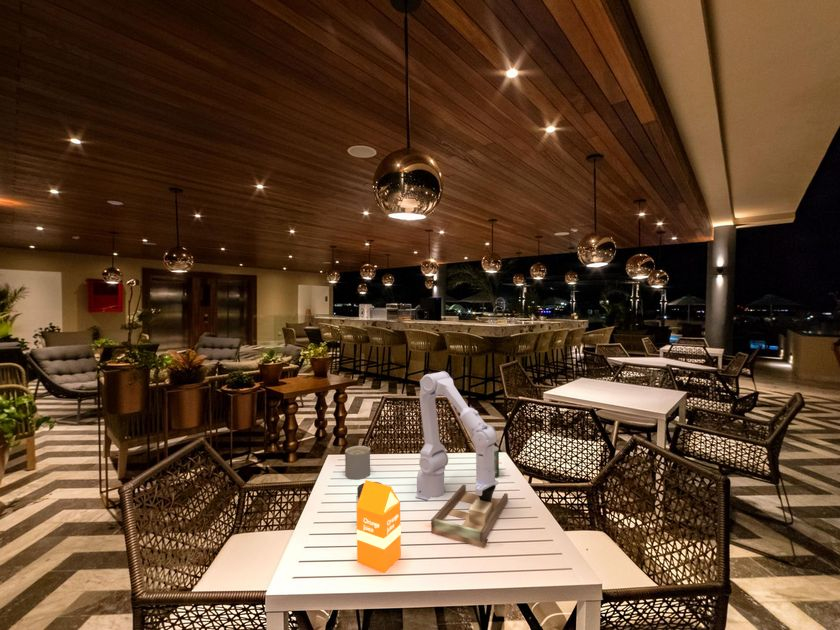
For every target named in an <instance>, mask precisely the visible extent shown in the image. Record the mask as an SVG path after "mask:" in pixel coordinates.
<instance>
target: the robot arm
mask: <svg viewBox="0 0 840 630" xmlns="http://www.w3.org/2000/svg"><path fill="white" fill-rule="evenodd" d="M419 385H420V391H419V395H418V396H419V403H420V405H419V406H420V413H421V415H420V416H421V422H422V430H423V431H422V432H423V433H422V434H423V441H424V444H423V447H422V448H421V450H420V452H419V454H420V455H419V457H420V458H419V461H418V462H419V468H420V469H418V471H417V475H416V495H415V498H417V499H420V500H425V501H429V500H430V499H431V498H439V497H442V496H444V495H445V470H446V466H447V465H448V463H449V456H448V454H447V452H446V447H445V445H444V444H442V443H441V441H440V440H441V439H440V432H439V423H438V414H437V413H438V412H437V405H436V404H437V403H436V399H437V397H438V396H444V397H446V398H447V399H448V401H449V402H450V403H451V404H452V405H453V407H454V408H455V409H456V410H457V411H458V412H459V414H460V418H459V419H460V421H461V422H462V424H464V427H465V428H466V429H467V430H468V431H469V433H470V435H471V436H472V437H471V440H472V443H473V445H474V447H475V457H476V458H475V463H476V464H475V465H476V466H475V467H476V468H475V469H476V470H475V471H476V474H475V475H476V478H475V487H474V494H475V495H479V498H480V500H482V501H486V502H491V499H492V498H493V494H494V492H495V490H496V486H497V485H498V484H499V480H497V479H496V478H495V472H494V446H495V443H496V442H497V440H498V433H497V431H496V429H495V428H494V426H492V425H488V424H487V422H485V420H484V419H483V418H482V417H481V416H480V414H479V411H478V410H476V409H475V408H474V407H469V406H468V404H467V402H466V401H465V400H464V398H463V397H462V395H461V394H460V392H459V391H458V389H457V388H456V386H455V385H454V379H453V378H452V377H451V376H450V374H449V373H448V372H446V371H445V370H444V371H443V370H442V371H439V372H433V373H427V374H425V375H423V377H422V378H421V379H419Z"/></svg>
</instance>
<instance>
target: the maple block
mask: <svg viewBox="0 0 840 630" xmlns="http://www.w3.org/2000/svg"><path fill="white" fill-rule="evenodd" d="M468 513H469V523H473V524H477V525H480V526H484V525H485V524H486V522H487V520H488V519H489V517H490V516H491V514H492V503H491V502H486V501H482V500H477V499H476V501H475V502H474V503H473V504H471V505H470V507H469V509H468Z"/></svg>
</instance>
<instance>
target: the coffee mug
mask: <svg viewBox="0 0 840 630" xmlns="http://www.w3.org/2000/svg"><path fill="white" fill-rule="evenodd" d="M344 457H345V458H344V459H345V460H344V462H345V465H344V466H345V469H344V470H345V477H346V479H348V480H354V481H357V480H358V481H359V480H363V479H367V478H368V477H369V476H370V475H371V448H370V447H368V446H366V445H365V446H364V445H354V446H350V447H348V448H346V449H345V451H344Z"/></svg>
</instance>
